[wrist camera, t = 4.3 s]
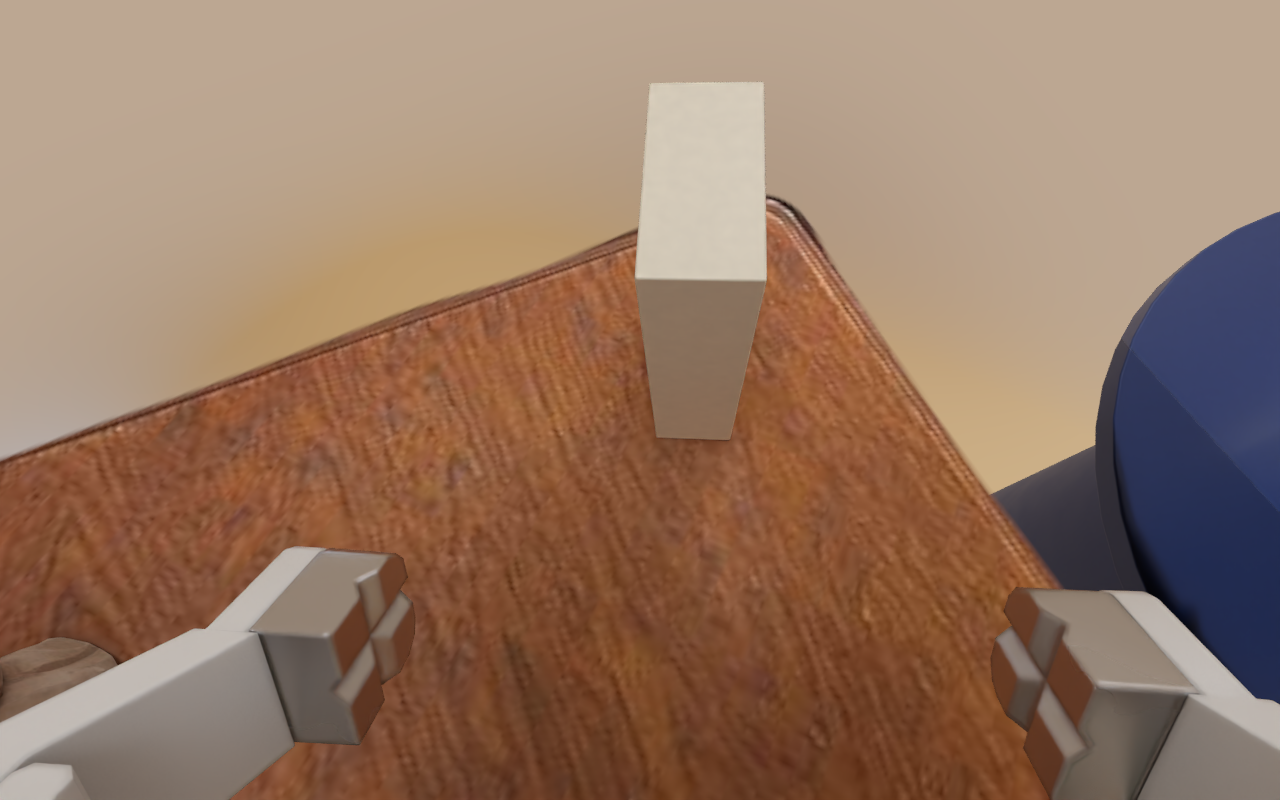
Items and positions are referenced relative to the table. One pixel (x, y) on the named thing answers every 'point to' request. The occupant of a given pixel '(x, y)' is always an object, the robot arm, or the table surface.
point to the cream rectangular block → (701, 251)
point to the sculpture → (47, 672)
